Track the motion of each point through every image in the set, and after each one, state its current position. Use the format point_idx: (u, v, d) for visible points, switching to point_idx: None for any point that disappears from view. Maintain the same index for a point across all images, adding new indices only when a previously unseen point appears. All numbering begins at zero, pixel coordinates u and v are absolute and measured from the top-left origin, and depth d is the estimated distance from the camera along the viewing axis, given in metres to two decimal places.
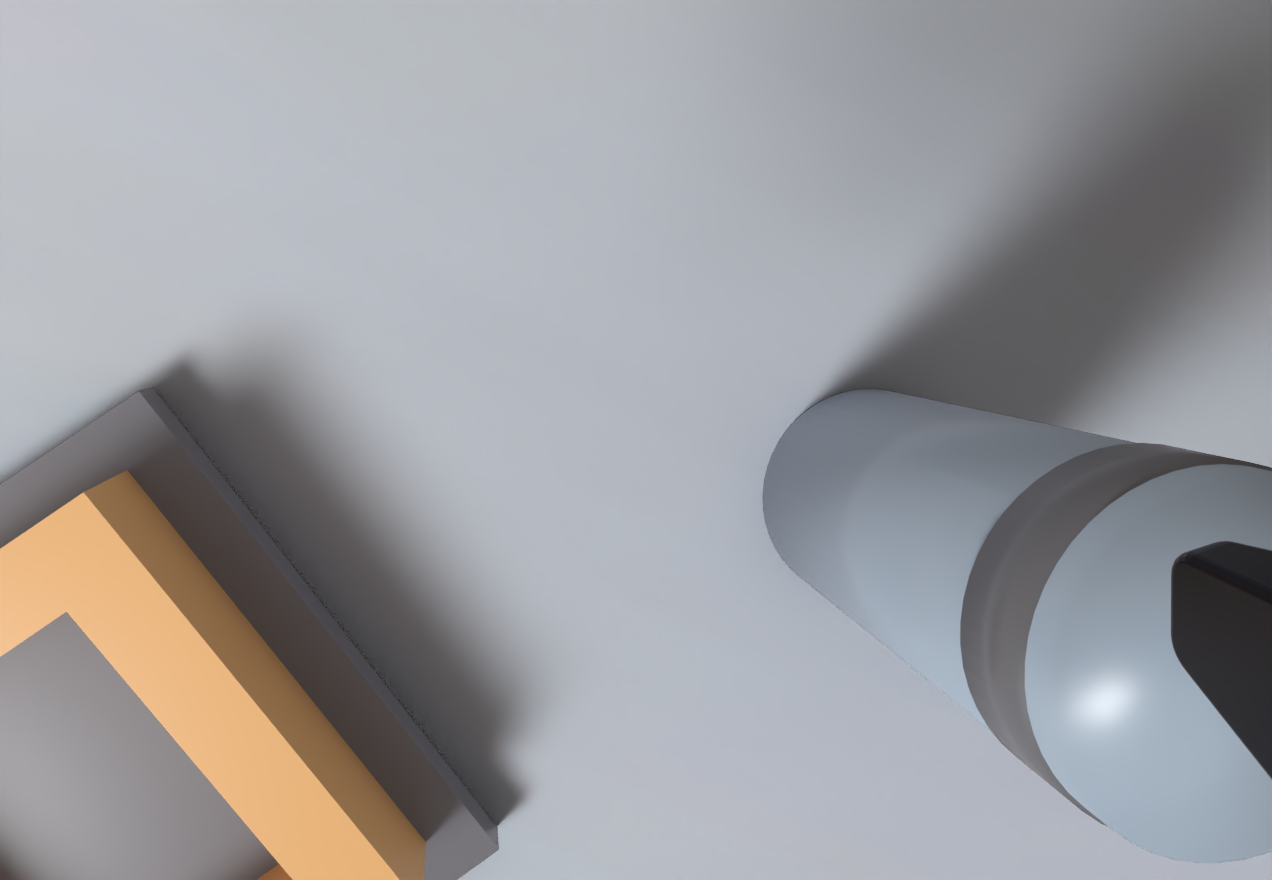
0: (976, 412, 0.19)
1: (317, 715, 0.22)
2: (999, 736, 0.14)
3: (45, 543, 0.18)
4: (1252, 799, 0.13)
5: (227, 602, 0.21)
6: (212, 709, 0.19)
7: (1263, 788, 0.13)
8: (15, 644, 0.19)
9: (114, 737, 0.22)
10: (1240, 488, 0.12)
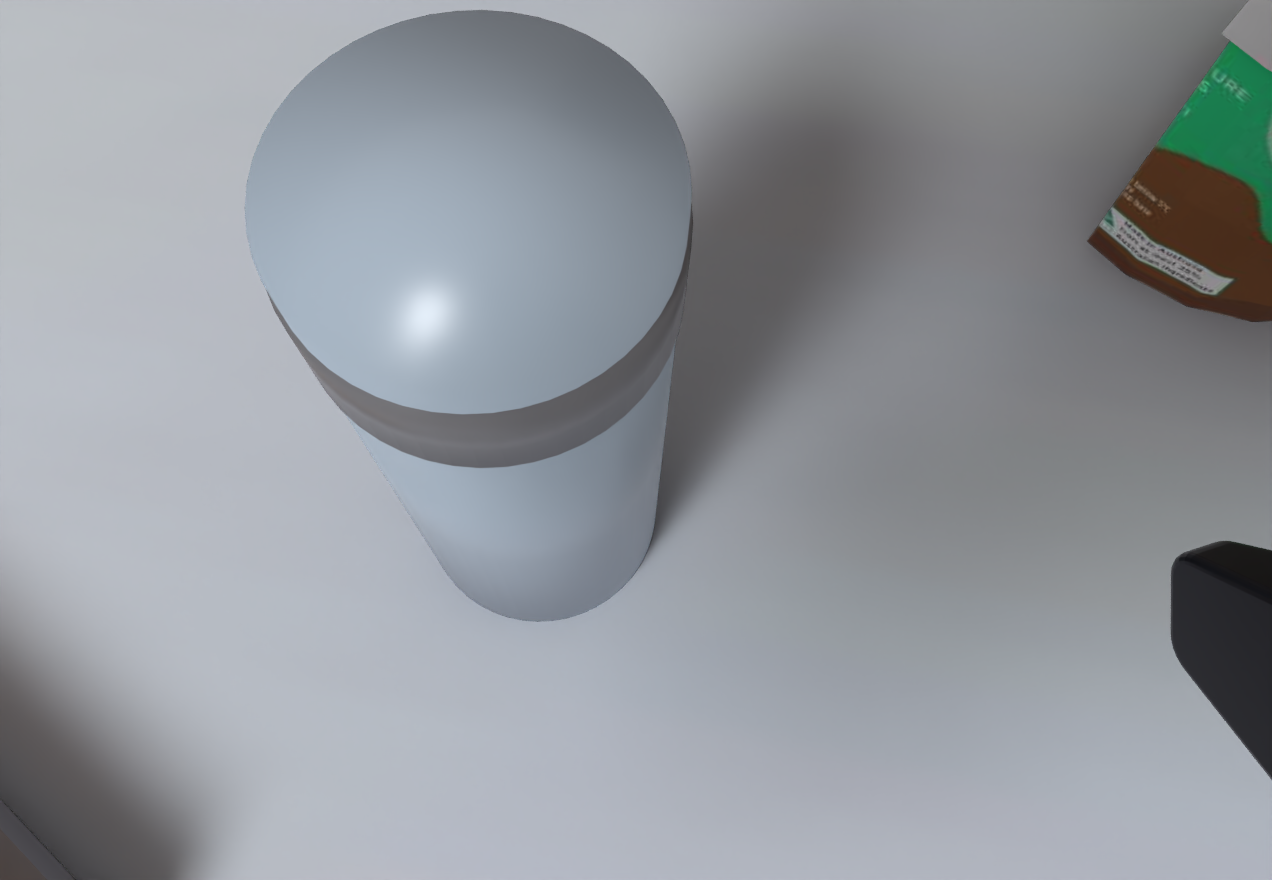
0: None
1: None
2: (353, 416, 0.13)
3: None
4: (534, 310, 0.11)
5: None
6: None
7: (543, 296, 0.11)
8: None
9: None
10: (416, 32, 0.12)
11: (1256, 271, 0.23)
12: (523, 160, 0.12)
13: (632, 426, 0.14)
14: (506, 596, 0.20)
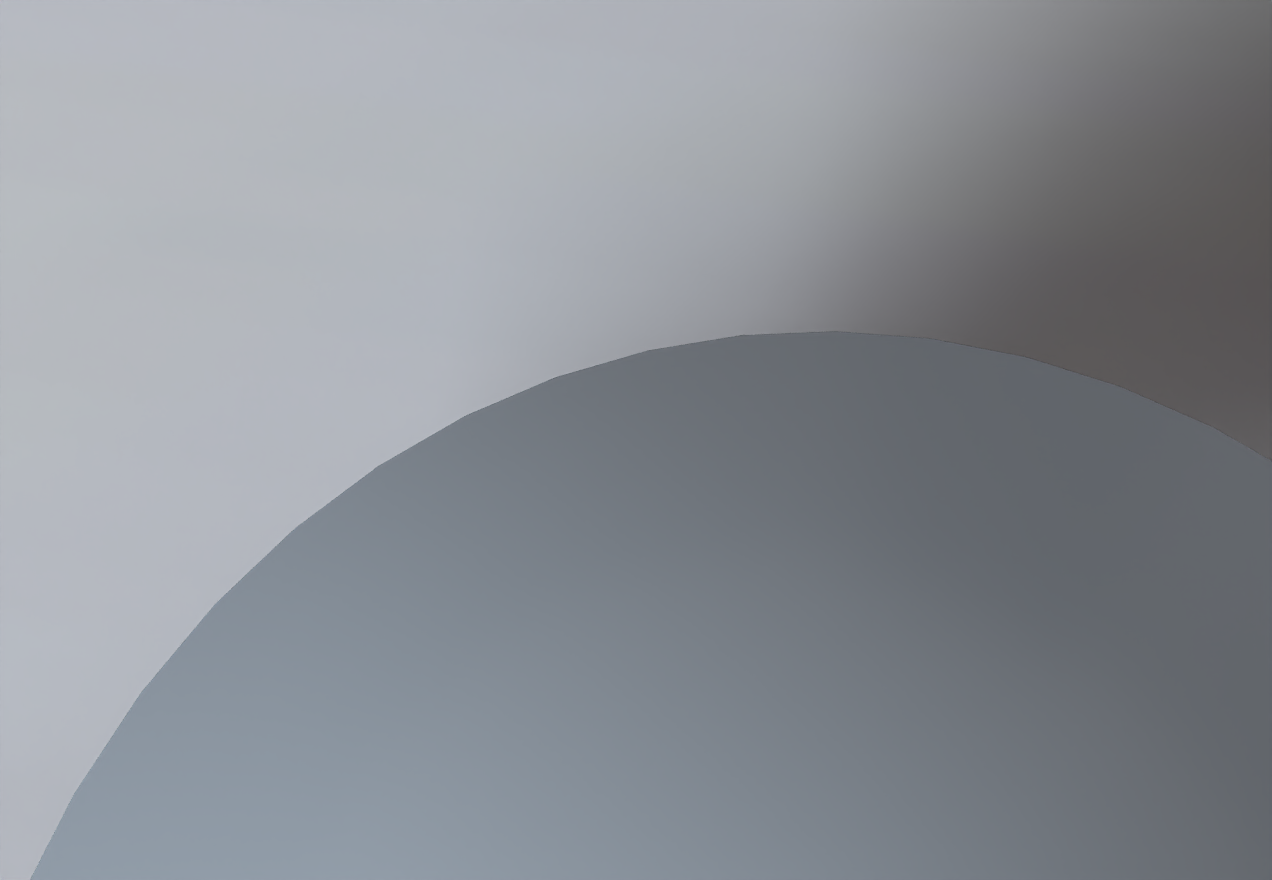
0: None
1: None
2: None
3: None
4: None
5: None
6: None
7: None
8: None
9: None
10: (605, 420, 0.03)
11: None
12: None
13: None
14: None
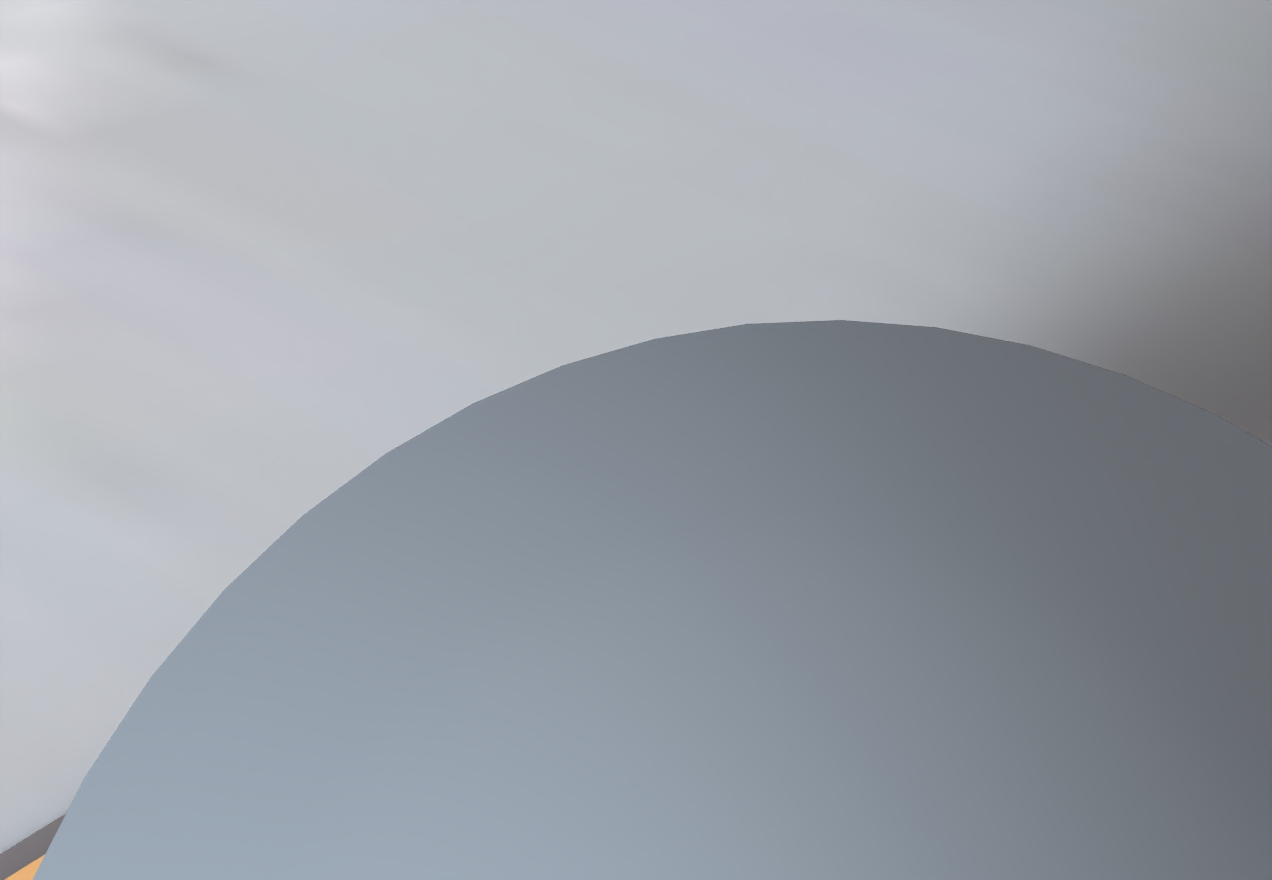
0: None
1: None
2: None
3: None
4: None
5: None
6: None
7: None
8: None
9: None
10: (612, 409, 0.03)
11: None
12: None
13: None
14: None
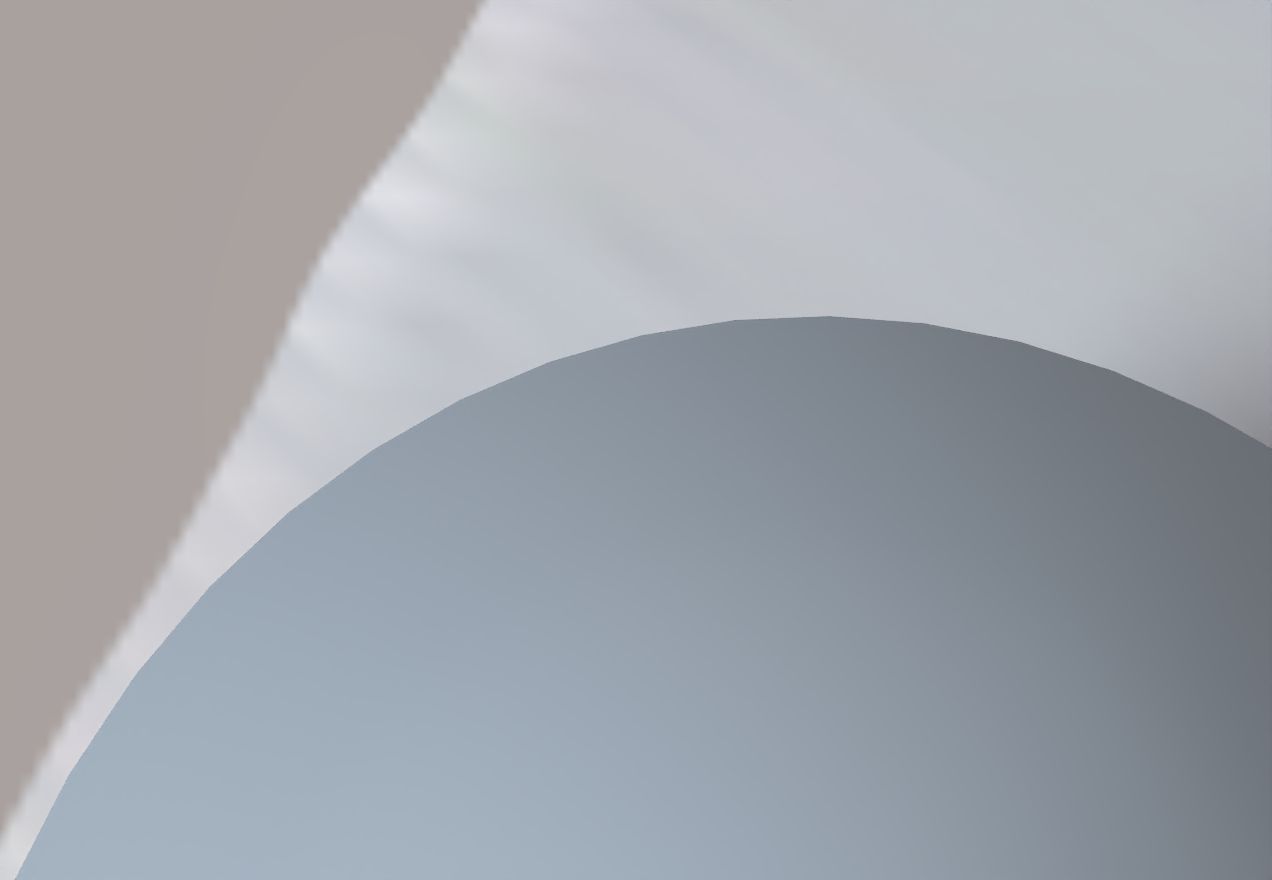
0: None
1: None
2: None
3: None
4: None
5: None
6: None
7: None
8: None
9: None
10: (599, 405, 0.03)
11: None
12: None
13: None
14: None
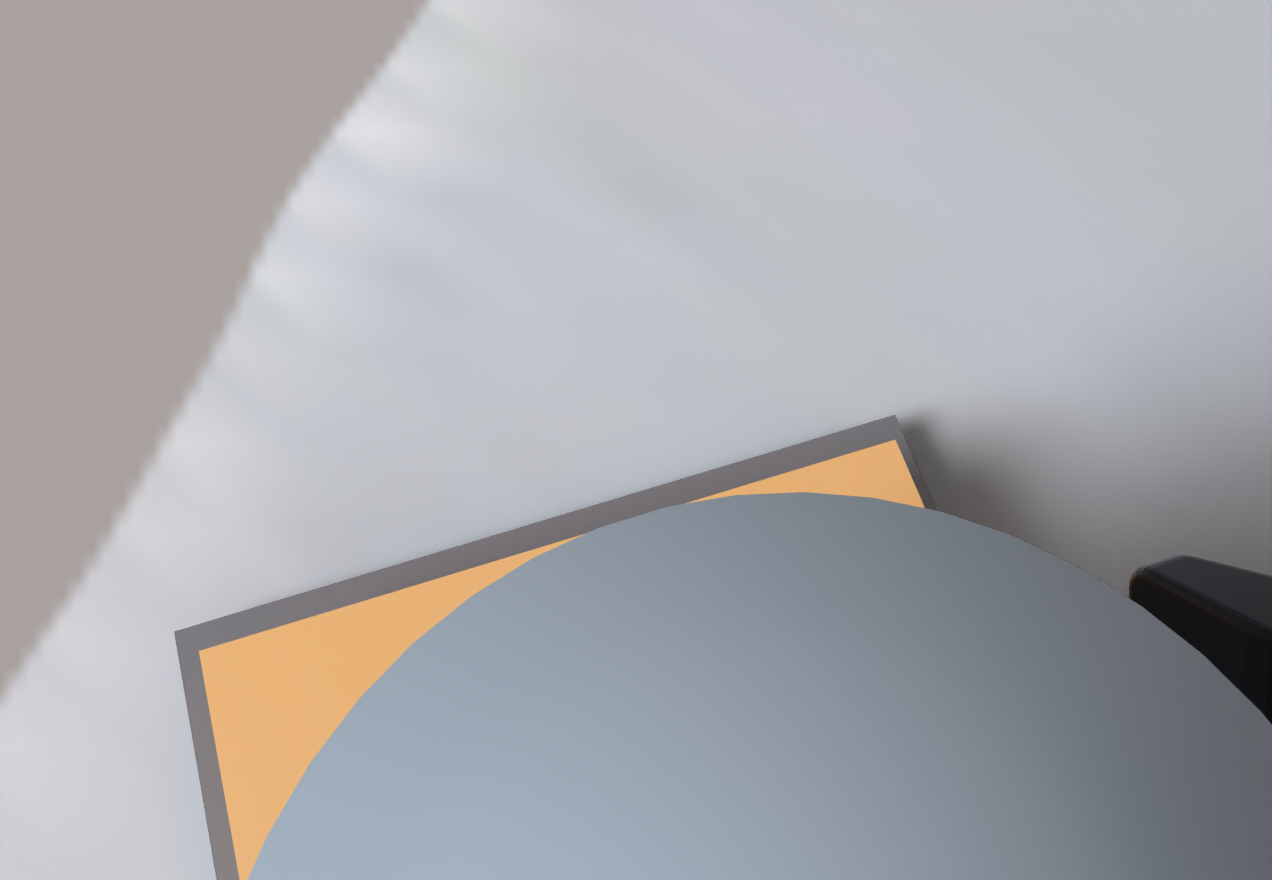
0: None
1: None
2: None
3: (835, 483, 0.15)
4: None
5: None
6: None
7: None
8: None
9: None
10: (636, 560, 0.05)
11: None
12: None
13: None
14: None
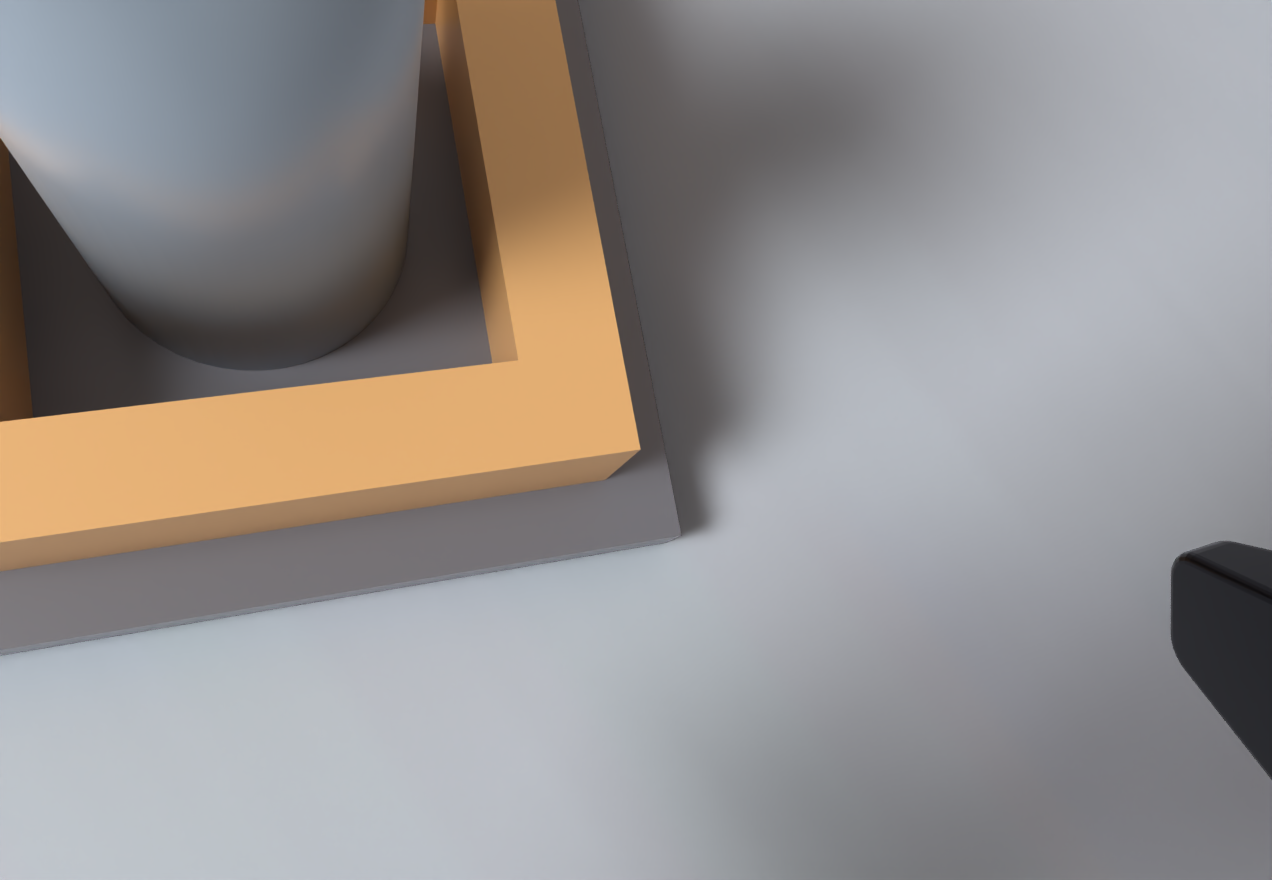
0: None
1: None
2: None
3: None
4: None
5: None
6: (530, 100, 0.16)
7: None
8: None
9: None
10: None
11: None
12: None
13: None
14: (165, 313, 0.14)
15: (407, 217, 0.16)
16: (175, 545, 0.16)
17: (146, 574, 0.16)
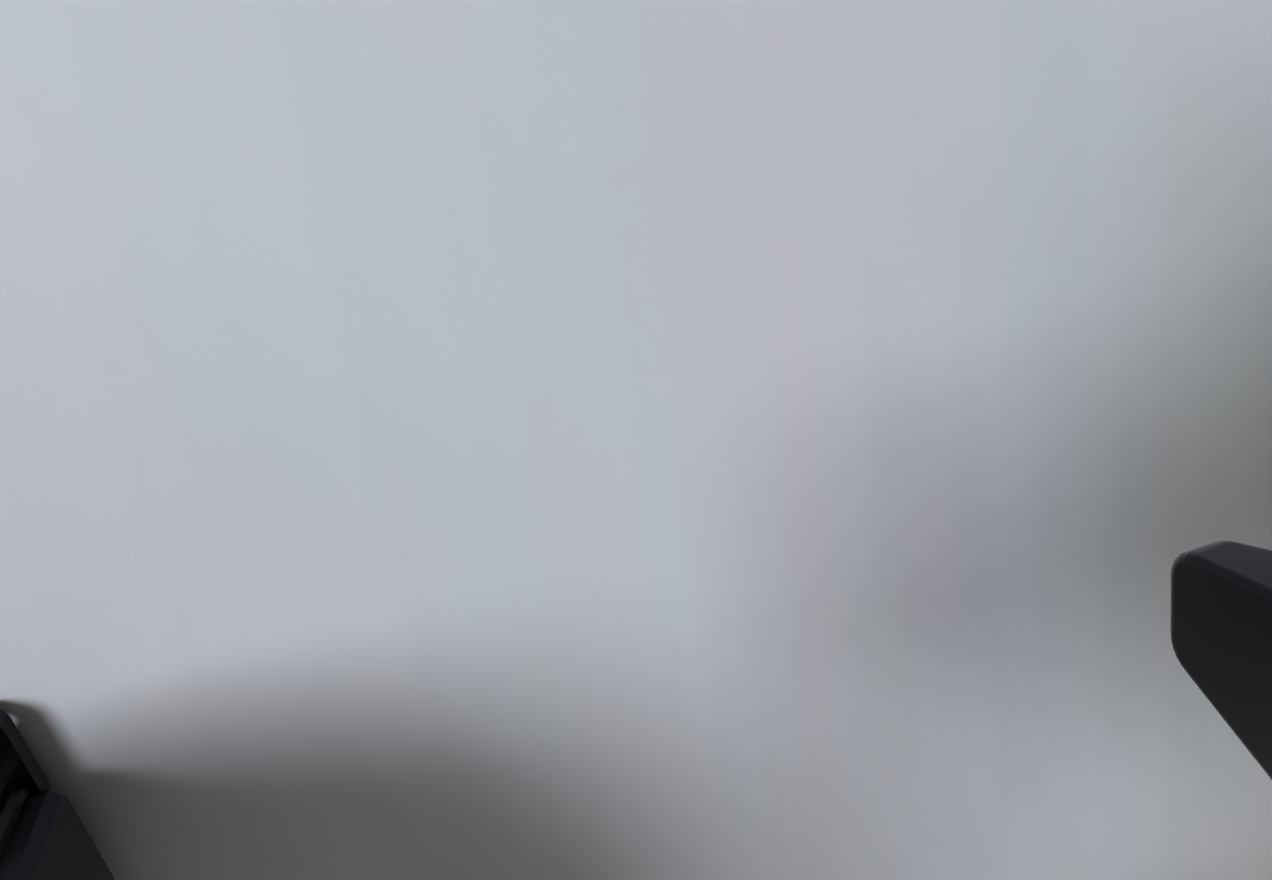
0: None
1: None
2: None
3: None
4: None
5: None
6: None
7: None
8: None
9: None
10: None
11: None
12: None
13: None
14: None
15: None
16: None
17: None
